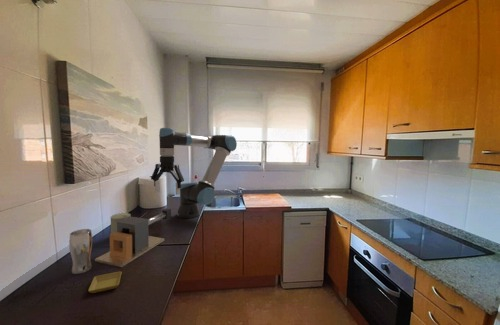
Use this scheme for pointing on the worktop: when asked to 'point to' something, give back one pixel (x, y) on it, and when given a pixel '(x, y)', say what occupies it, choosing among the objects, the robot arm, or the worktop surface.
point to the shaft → (160, 216)
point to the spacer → (127, 244)
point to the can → (117, 220)
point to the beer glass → (81, 250)
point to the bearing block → (139, 241)
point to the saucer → (105, 282)
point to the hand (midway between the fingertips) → (167, 193)
